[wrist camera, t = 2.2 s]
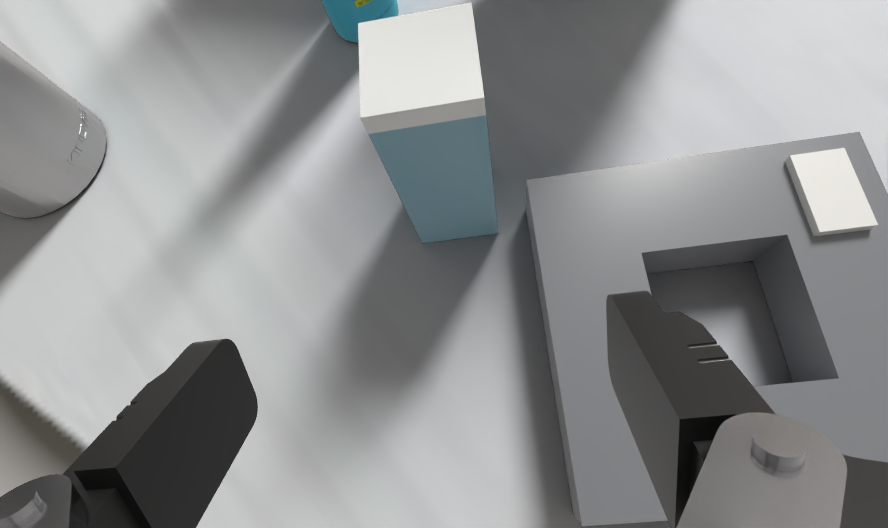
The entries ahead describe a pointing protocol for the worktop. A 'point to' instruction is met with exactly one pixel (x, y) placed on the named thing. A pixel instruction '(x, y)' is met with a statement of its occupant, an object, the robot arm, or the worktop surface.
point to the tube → (357, 14)
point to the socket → (708, 244)
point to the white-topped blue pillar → (430, 119)
